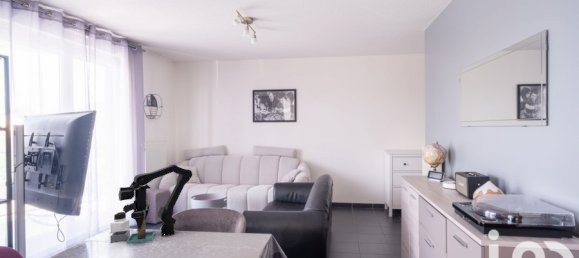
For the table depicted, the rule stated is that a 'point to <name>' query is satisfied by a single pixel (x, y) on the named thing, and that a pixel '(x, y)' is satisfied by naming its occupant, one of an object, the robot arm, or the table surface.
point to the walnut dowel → (142, 231)
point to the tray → (134, 239)
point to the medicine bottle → (119, 222)
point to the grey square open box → (120, 236)
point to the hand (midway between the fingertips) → (141, 226)
